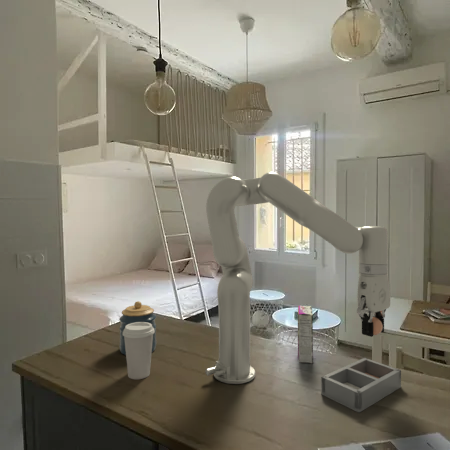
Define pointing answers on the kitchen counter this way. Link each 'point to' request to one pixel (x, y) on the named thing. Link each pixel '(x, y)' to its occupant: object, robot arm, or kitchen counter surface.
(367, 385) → the divided tray
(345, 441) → the kitchen counter surface
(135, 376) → the coffee cup
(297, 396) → the kitchen counter surface
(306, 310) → the candy bar box
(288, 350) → the kitchen counter surface
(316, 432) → the kitchen counter surface
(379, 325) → the ball
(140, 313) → the canister
